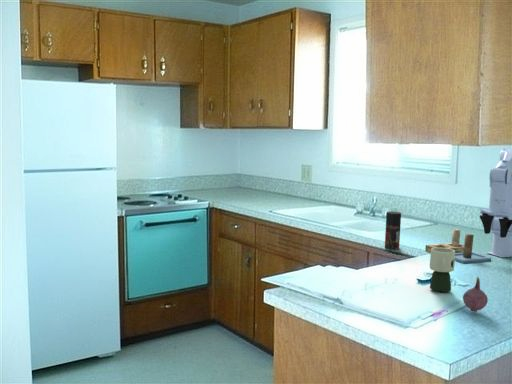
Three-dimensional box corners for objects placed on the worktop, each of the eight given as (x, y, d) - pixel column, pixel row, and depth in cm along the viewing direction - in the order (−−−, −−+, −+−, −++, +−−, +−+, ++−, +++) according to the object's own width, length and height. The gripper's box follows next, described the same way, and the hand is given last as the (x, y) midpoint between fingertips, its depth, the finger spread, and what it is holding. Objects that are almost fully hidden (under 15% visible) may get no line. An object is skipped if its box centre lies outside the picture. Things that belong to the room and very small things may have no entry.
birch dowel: (455, 250, 223) (456, 229, 222) (460, 251, 221) (461, 230, 220) (449, 250, 222) (451, 229, 221) (454, 252, 220) (456, 230, 218)
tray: (471, 254, 216) (471, 251, 216) (490, 260, 207) (491, 257, 207) (444, 257, 210) (444, 254, 210) (462, 263, 201) (463, 260, 201)
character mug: (454, 297, 160) (457, 254, 158) (429, 295, 161) (432, 252, 160) (450, 286, 170) (452, 246, 169) (426, 284, 172) (429, 245, 170)
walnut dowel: (467, 256, 210) (469, 233, 209) (473, 258, 208) (475, 235, 207) (461, 256, 209) (463, 234, 208) (467, 258, 207) (469, 235, 205)
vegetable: (490, 316, 144) (493, 280, 143) (468, 316, 143) (471, 280, 142) (479, 308, 150) (482, 274, 149) (458, 308, 149) (461, 274, 148)
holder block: (455, 248, 227) (455, 242, 226) (469, 252, 219) (470, 246, 219) (425, 250, 221) (425, 245, 220) (438, 255, 213) (439, 249, 213)
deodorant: (388, 245, 229) (390, 211, 227) (401, 247, 225) (403, 212, 224) (382, 247, 225) (384, 212, 223) (395, 250, 221) (397, 214, 219)
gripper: (475, 197, 207) (472, 232, 208) (505, 202, 193) (502, 239, 195) (488, 197, 209) (486, 231, 211) (519, 202, 196) (516, 238, 198)
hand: (495, 235), depth 203 cm, fingers open, 7 cm apart
